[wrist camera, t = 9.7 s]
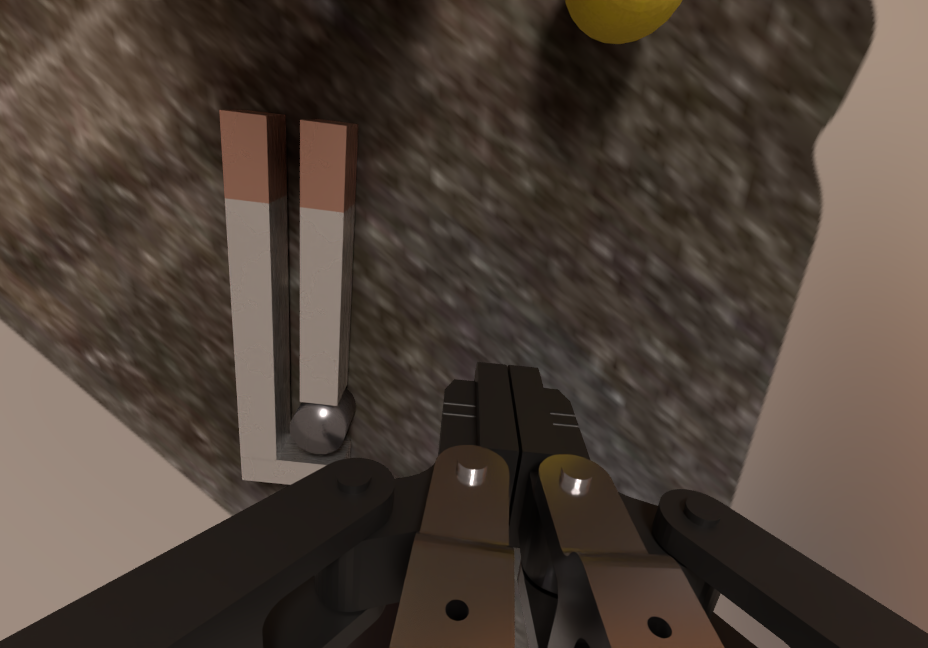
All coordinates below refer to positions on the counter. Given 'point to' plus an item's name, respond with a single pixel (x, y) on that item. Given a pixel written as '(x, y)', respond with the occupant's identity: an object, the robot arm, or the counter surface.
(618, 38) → the lemon
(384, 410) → the counter surface
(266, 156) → the tongs fixed leg
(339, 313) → the leg
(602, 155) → the counter surface
